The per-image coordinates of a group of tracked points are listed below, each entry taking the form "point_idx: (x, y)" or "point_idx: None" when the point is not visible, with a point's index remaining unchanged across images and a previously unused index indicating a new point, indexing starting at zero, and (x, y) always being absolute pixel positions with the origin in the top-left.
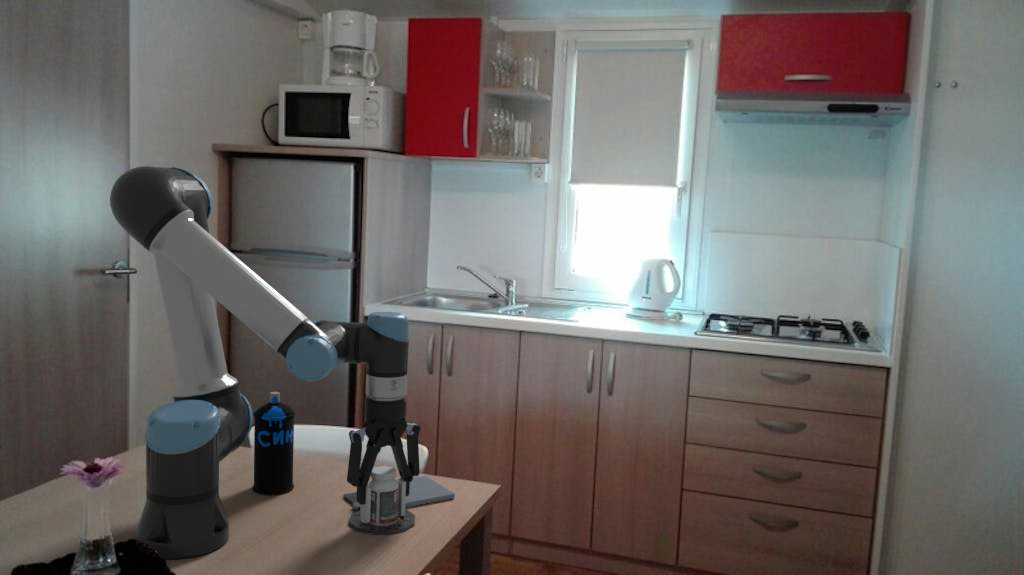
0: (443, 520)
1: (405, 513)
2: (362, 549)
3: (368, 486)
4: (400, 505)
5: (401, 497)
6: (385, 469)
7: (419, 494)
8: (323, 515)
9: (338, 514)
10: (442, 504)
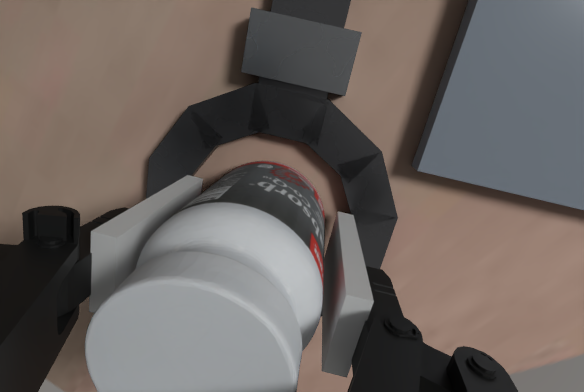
0: (436, 340)
1: (363, 241)
2: None
3: (110, 292)
4: (326, 273)
5: (323, 304)
6: (211, 372)
7: (577, 133)
8: (112, 4)
9: (169, 38)
10: (573, 239)
